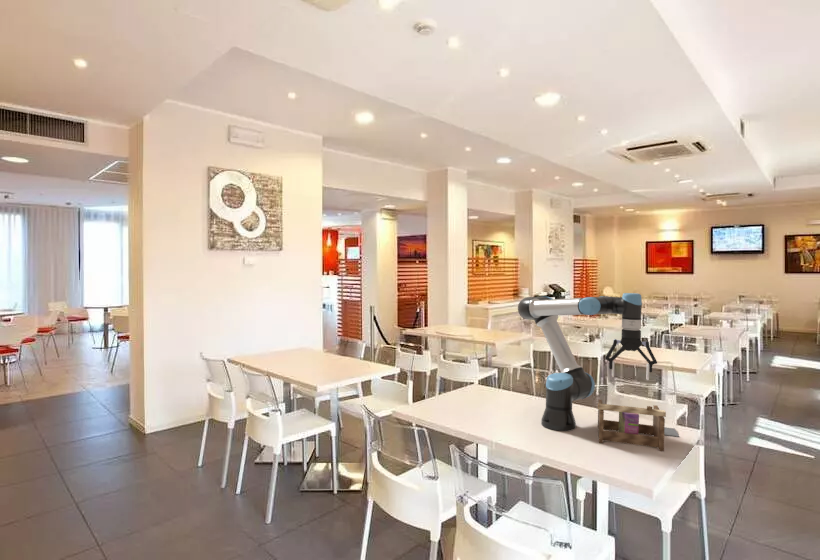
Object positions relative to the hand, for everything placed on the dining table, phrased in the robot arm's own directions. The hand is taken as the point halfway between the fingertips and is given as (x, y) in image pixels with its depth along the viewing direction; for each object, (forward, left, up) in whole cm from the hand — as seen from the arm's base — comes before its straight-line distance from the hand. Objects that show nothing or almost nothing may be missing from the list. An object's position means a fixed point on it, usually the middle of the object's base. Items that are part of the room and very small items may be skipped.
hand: (630, 378), depth 202 cm
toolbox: (0, -2, -26) cm, 26 cm away
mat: (+16, +15, -26) cm, 34 cm away
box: (0, 0, -26) cm, 26 cm away
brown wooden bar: (0, -8, -13) cm, 15 cm away
